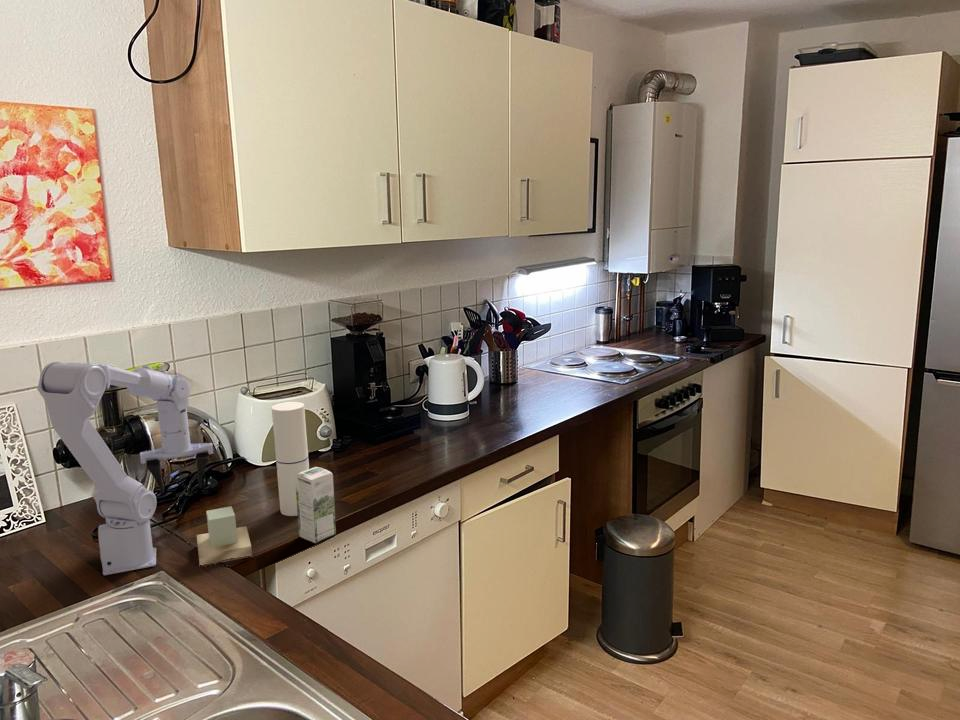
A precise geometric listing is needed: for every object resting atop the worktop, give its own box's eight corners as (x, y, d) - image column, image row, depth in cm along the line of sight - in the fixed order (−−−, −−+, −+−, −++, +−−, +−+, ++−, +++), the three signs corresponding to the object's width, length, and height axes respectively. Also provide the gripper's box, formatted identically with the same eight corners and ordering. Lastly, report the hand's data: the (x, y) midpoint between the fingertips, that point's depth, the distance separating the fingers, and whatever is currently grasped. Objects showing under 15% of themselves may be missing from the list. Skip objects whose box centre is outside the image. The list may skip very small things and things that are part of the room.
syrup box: (319, 527, 164) (315, 465, 161) (337, 534, 161) (333, 471, 157) (298, 537, 160) (293, 473, 157) (316, 544, 156) (311, 479, 153)
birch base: (200, 569, 148) (198, 555, 147) (198, 548, 157) (196, 535, 156) (252, 559, 152) (251, 546, 151) (247, 539, 161) (246, 526, 160)
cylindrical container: (292, 518, 169) (283, 412, 164) (274, 510, 174) (265, 406, 168) (318, 508, 174) (310, 405, 169) (300, 500, 179) (292, 400, 173)
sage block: (211, 547, 150) (208, 520, 149) (209, 537, 155) (206, 510, 154) (237, 542, 153) (234, 515, 151) (234, 532, 157) (231, 506, 156)
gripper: (209, 419, 166) (215, 477, 169) (138, 428, 161) (145, 487, 164) (211, 428, 160) (217, 488, 163) (137, 438, 155) (144, 499, 158)
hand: (181, 488), depth 163 cm, fingers open, 7 cm apart
